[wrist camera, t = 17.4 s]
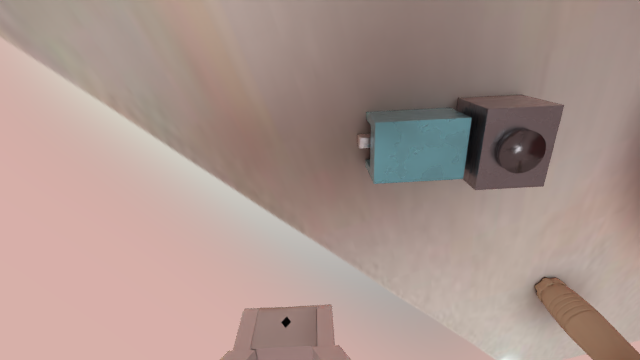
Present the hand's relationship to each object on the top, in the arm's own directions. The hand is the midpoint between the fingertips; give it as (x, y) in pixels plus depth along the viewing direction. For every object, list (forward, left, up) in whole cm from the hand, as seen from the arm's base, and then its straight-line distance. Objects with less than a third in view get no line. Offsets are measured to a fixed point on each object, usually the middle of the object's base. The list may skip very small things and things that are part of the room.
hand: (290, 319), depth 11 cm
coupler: (-13, 0, -22) cm, 26 cm away
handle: (-29, +20, -22) cm, 42 cm away
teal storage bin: (-10, 0, -22) cm, 24 cm away
